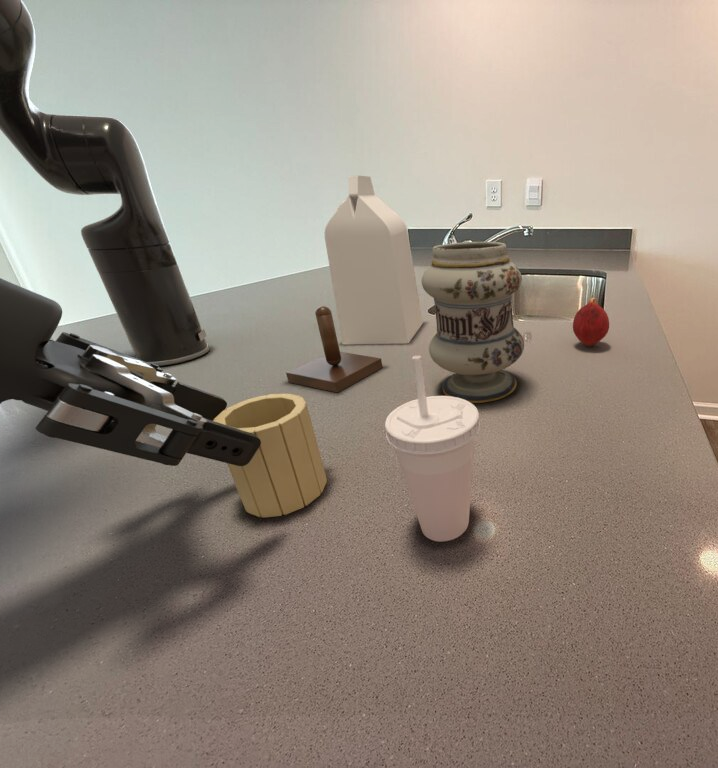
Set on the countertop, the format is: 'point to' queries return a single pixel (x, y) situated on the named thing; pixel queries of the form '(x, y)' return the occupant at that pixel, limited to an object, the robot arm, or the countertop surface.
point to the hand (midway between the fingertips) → (235, 430)
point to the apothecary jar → (474, 318)
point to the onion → (591, 323)
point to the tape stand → (333, 361)
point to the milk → (372, 270)
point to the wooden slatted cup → (277, 455)
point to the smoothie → (436, 457)
